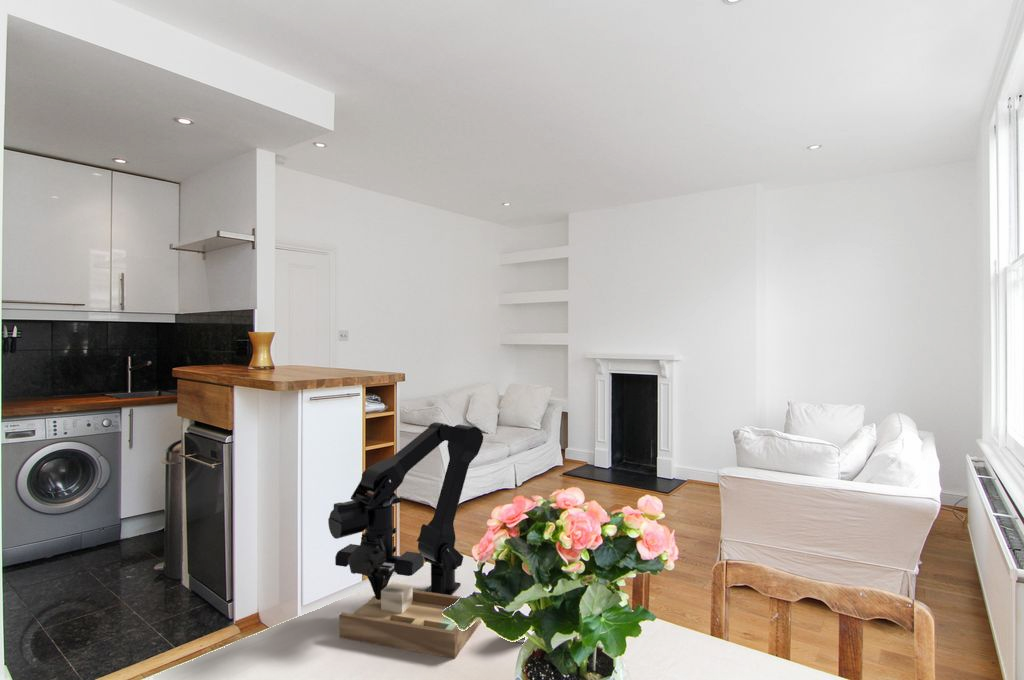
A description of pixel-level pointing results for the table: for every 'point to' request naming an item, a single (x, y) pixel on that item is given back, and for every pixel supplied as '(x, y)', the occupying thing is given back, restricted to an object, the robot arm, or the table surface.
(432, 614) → the box
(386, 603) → the block
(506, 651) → the table surface
